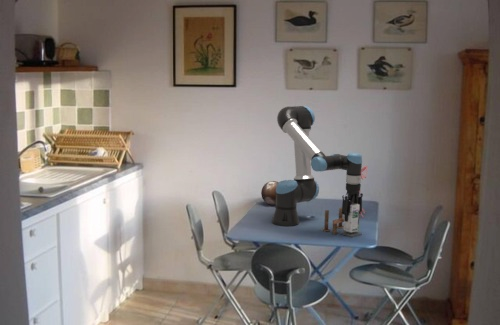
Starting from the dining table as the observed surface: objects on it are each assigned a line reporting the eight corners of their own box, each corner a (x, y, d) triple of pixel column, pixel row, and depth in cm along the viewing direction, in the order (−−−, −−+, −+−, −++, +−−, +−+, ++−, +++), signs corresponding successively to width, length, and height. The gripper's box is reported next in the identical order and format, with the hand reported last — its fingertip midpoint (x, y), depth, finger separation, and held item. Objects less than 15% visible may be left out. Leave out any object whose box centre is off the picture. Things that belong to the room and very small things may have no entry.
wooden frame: (320, 230, 320) (321, 210, 318) (339, 226, 329) (340, 206, 328) (334, 234, 312) (335, 214, 310) (353, 230, 322) (354, 210, 320)
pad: (339, 233, 314) (339, 232, 314) (350, 231, 319) (350, 229, 319) (351, 237, 308) (351, 235, 308) (361, 234, 313) (361, 233, 313)
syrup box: (351, 232, 309) (352, 205, 307) (342, 230, 314) (344, 203, 311) (358, 231, 312) (360, 204, 310) (350, 228, 317) (351, 201, 315)
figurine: (367, 210, 366) (369, 154, 361) (362, 220, 342) (364, 160, 337) (342, 209, 371) (344, 153, 365) (336, 218, 346) (337, 159, 341)
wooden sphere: (258, 206, 372) (259, 182, 370) (263, 201, 387) (264, 178, 384) (282, 208, 369) (283, 184, 367) (286, 202, 383) (287, 179, 381)
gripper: (346, 186, 300) (344, 230, 304) (370, 182, 312) (368, 225, 316) (335, 183, 306) (333, 227, 310) (359, 180, 318) (357, 222, 321)
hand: (351, 226), depth 313 cm, fingers closed on syrup box, 6 cm apart
